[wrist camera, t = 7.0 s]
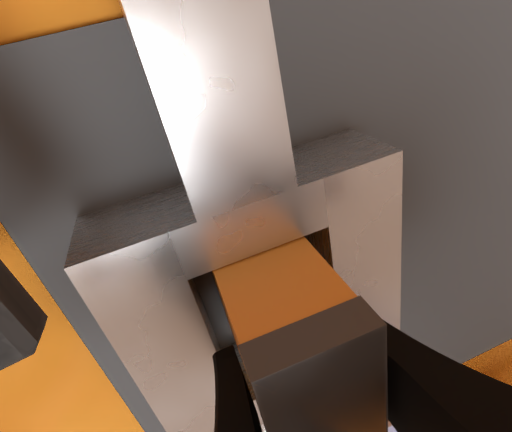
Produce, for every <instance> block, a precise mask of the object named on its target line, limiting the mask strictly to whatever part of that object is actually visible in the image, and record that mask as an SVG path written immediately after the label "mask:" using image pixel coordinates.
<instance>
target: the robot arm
mask: <svg viewBox="0 0 512 432" xmlns="http://www.w3.org/2000/svg"><path fill="white" fill-rule="evenodd" d="M382 320H383V319H382ZM383 321H384V320H383ZM384 322H385V323H386V324H387V390H388V420H389V421H388V432H512V386H511V385H508V384H506V383H503V382H501V381H498V380H496V379H494V378H491V377H489V376H487V375H485V374H482V373H480V372H478V371H476V370H473V369H471V368H469V367H467V366H465V365H463V364H461V363H459V362H457V361H455V360H453V359H451V358H449V357H447V356H445V355H443V354H441V353H439V352H437V351H435V350H433V349H432V348H430V347H428V346H426V345H424V344H422V343H421V342H419V341H417V340H415V339H414V338H412V337H410V336H409V335H407V334H405V333H404V332H402V331H400V330H399V329H397V328H395V327H394V326H392V325H391V324H389V323H387V322H386V321H384ZM212 358H213V364H214V373H215V424H214V432H262V428H261V424H260V420H259V417H258V413H257V411H256V408H255V405H254V402H253V399H252V397H251V394H250V391H249V388H248V385H247V383H246V380H245V377H244V374H243V371H242V369H241V366H240V363H239V360H238V357H237V355H236V352H235V349H234V346H233V345H231V346H229V347H227V348H224V349H222V350H220V351H217V352H215V353H214V354H213V356H212Z"/></svg>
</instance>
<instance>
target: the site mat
mask: <svg viewBox="0 0 512 432" xmlns="http://www.w3.org/2000/svg"><path fill="white" fill-rule="evenodd" d="M269 5H270V12H271V18H272V24H273V31H274V37H275V43H276V50H277V56H278V63H279V69H280V75H281V82H282V88H283V94H284V101H285V107H286V113H287V120H288V126H289V133H290V139H291V145H292V146H295V145H299V144H302V143H305V142H308V141H311V140H314V139H317V138H320V137H323V136H326V135H329V134H332V133H336V132H339V131H342V130H345V129H348V128H350V129H352V130H355V131H357V132H360V133H362V134H364V135H367V136H369V137H372V138H374V139H376V140H379V141H381V142H384V143H386V144H388V145H391V146H393V147H395V148H398V149H400V150H403V177H402V242H401V308H400V331H402V332H404V333H405V334H407V335H409V336H410V337H412V338H414V339H415V340H417V341H419V342H421V343H422V344H424V345H426V346H428V347H430V348H432V349H433V350H435V351H437V352H439V353H441V354H443V355H445V356H447V357H449V358H451V359H453V360H455V361H457V362H459V363H461V364H462V363H464V362H466V361H468V360H470V359H472V358H474V357H476V356H478V355H480V354H482V353H484V352H486V351H488V350H490V349H492V348H494V347H496V346H498V345H500V344H502V343H504V342H506V341H508V340H510V339H512V0H269ZM179 183H181V180H180V177H179V174H178V171H177V169H176V166H175V163H174V160H173V157H172V154H171V151H170V148H169V146H168V143H167V140H166V137H165V134H164V131H163V128H162V125H161V123H160V120H159V117H158V114H157V111H156V108H155V105H154V102H153V100H152V97H151V94H150V91H149V88H148V85H147V82H146V79H145V76H144V74H143V71H142V68H141V65H140V62H139V59H138V56H137V53H136V51H135V48H134V45H133V42H132V39H131V36H130V33H129V30H128V28H127V25H126V22H125V19H124V18H119V19H115V20H111V21H106V22H102V23H97V24H93V25H89V26H84V27H80V28H76V29H71V30H67V31H63V32H58V33H54V34H50V35H45V36H41V37H37V38H32V39H28V40H24V41H19V42H15V43H11V44H6V45H2V46H0V222H1V223H2V225H3V226H4V228H5V229H6V231H7V232H8V233H9V235H10V236H11V238H12V239H13V241H14V242H15V244H16V245H17V247H18V248H19V249H20V251H21V252H22V254H23V255H24V257H25V258H26V260H27V261H28V262H29V264H30V265H31V267H32V268H33V270H34V271H35V273H36V274H37V276H38V277H39V278H40V280H41V281H42V283H43V284H44V286H45V287H46V289H47V290H48V292H49V293H50V294H51V296H52V297H53V299H54V300H55V302H56V303H57V305H58V306H59V308H60V309H61V310H62V312H63V313H64V315H65V316H66V318H67V319H68V321H69V322H70V323H71V325H72V326H73V328H74V329H75V331H76V332H77V334H78V335H79V337H80V338H81V339H82V341H83V342H84V344H85V345H86V347H87V348H88V350H89V351H90V353H91V354H92V355H93V357H94V358H95V360H96V361H97V363H98V364H99V366H100V367H101V369H102V370H103V371H104V373H105V374H106V376H107V377H108V379H109V380H110V382H111V383H112V384H113V386H114V387H115V389H116V390H117V392H118V393H119V395H120V396H121V398H122V399H123V400H124V402H125V403H126V405H127V406H128V408H129V409H130V411H131V412H132V414H133V415H134V416H135V418H136V419H137V421H138V422H139V424H140V425H141V427H142V428H143V430H144V431H145V432H166V431H165V429H164V428H163V426H162V424H161V423H160V421H159V420H158V418H157V416H156V415H155V413H154V412H153V410H152V409H151V407H150V405H149V404H148V402H147V401H146V399H145V397H144V396H143V394H142V393H141V391H140V389H139V388H138V386H137V385H136V383H135V382H134V380H133V378H132V377H131V375H130V374H129V372H128V370H127V369H126V367H125V366H124V364H123V362H122V361H121V359H120V358H119V356H118V355H117V353H116V351H115V350H114V348H113V347H112V345H111V343H110V342H109V340H108V339H107V337H106V336H105V334H104V332H103V331H102V329H101V328H100V326H99V324H98V323H97V321H96V320H95V318H94V316H93V315H92V313H91V312H90V310H89V309H88V307H87V305H86V304H85V302H84V301H83V299H82V297H81V296H80V294H79V293H78V291H77V289H76V288H75V286H74V285H73V283H72V282H71V280H70V278H69V277H68V275H67V274H66V272H65V270H64V265H65V261H66V257H67V253H68V249H69V245H70V241H71V237H72V233H73V229H74V225H75V221H76V217H77V216H80V215H83V214H86V213H89V212H92V211H95V210H98V209H102V208H105V207H108V206H111V205H114V204H117V203H120V202H123V201H126V200H129V199H132V198H135V197H138V196H142V195H145V194H148V193H151V192H154V191H157V190H160V189H163V188H166V187H169V186H172V185H175V184H179ZM193 280H194V283H195V285H196V288H197V290H198V293H199V295H200V298H201V301H202V303H203V306H204V308H205V311H206V313H207V316H208V318H209V321H210V324H211V326H212V329H213V331H214V334H215V336H216V339H217V342H218V344H219V347H220V349H221V348H223V347H226V346H228V345H231V344H233V343H235V339H234V336H233V333H232V330H231V328H230V325H229V322H228V319H227V316H226V313H225V310H224V307H223V304H222V301H221V298H220V295H219V292H218V289H217V286H216V283H215V280H214V277H213V274H212V271H210V272H208V273H205V274H203V275H200V276H197V277H195V278H193Z"/></svg>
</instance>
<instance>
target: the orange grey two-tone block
mask: <svg viewBox="0 0 512 432" xmlns="http://www.w3.org/2000/svg"><path fill="white" fill-rule="evenodd" d="M212 274H213V277H214V280H215V283H216V286H217V289H218V292H219V295H220V298H221V301H222V304H223V307H224V310H225V313H226V316H227V319H228V322H229V325H230V328H231V330H232V333H233V336H234V339H235V342H236V345H237V347H238V350H239V353H240V356H241V359H242V361H243V364H244V367H245V370H246V373H247V376H248V378H249V381H250V384H251V387H252V390H253V393H254V396H255V399H256V402H257V405H258V408H259V411H260V414H261V417H262V420H263V423H264V426H265V430H266V432H388V390H387V324H386V323H385V322H384V321H383V320H382V319H381V317H380V316H379V315H378V314H377V313H376V312H375V311H374V310H373V309H372V308H371V306H370V305H369V304H368V303H367V302H366V301H365V300H364V299H363V298H362V296H361V295H360V296H357V295H356V294H355V293H354V292H353V291H352V290H351V288H350V287H349V286H348V285H347V284H346V283H345V282H344V281H343V279H342V278H341V277H340V276H339V275H338V274H337V273H336V272H335V270H334V269H333V268H332V267H331V266H330V265H329V264H328V263H327V261H326V260H325V259H324V258H323V257H322V256H321V255H320V254H319V252H318V251H317V250H316V249H315V248H314V247H313V246H312V245H311V243H310V242H309V241H308V240H307V239H306V238H305V237H304V236H303V237H300V238H298V239H295V240H293V241H290V242H287V243H285V244H282V245H279V246H277V247H274V248H271V249H269V250H266V251H263V252H261V253H258V254H255V255H253V256H250V257H248V258H245V259H242V260H240V261H237V262H234V263H232V264H229V265H226V266H224V267H221V268H218V269H216V270H213V271H212Z"/></svg>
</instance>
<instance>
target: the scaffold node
mask: <svg viewBox="0 0 512 432" xmlns="http://www.w3.org/2000/svg"><path fill="white" fill-rule="evenodd" d="M118 2H119V5H120V7H121V10H122V13H123V16H124V19H125V22H126V25H127V28H128V30H129V33H130V36H131V39H132V42H133V45H134V48H135V51H136V53H137V56H138V59H139V62H140V65H141V68H142V71H143V74H144V76H145V79H146V82H147V85H148V88H149V91H150V94H151V97H152V100H153V102H154V105H155V108H156V111H157V114H158V117H159V120H160V123H161V125H162V128H163V131H164V134H165V137H166V140H167V143H168V146H169V148H170V151H171V154H172V157H173V160H174V163H175V166H176V169H177V171H178V174H179V177H180V180H181V183H179V184H175V185H172V186H169V187H166V188H163V189H160V190H157V191H154V192H151V193H148V194H145V195H142V196H138V197H135V198H132V199H129V200H126V201H123V202H120V203H117V204H114V205H111V206H108V207H105V208H102V209H98V210H95V211H92V212H89V213H86V214H83V215H80V216H77V217H76V221H75V225H74V229H73V233H72V237H71V241H70V245H69V249H68V253H67V257H66V261H65V265H64V270H65V272H66V274H67V275H68V277H69V278H70V280H71V282H72V283H73V285H74V286H75V288H76V289H77V291H78V293H79V294H80V296H81V297H82V299H83V301H84V302H85V304H86V305H87V307H88V309H89V310H90V312H91V313H92V315H93V316H94V318H95V320H96V321H97V323H98V324H99V326H100V328H101V329H102V331H103V332H104V334H105V336H106V337H107V339H108V340H109V342H110V343H111V345H112V347H113V348H114V350H115V351H116V353H117V355H118V356H119V358H120V359H121V361H122V362H123V364H124V366H125V367H126V369H127V370H128V372H129V374H130V375H131V377H132V378H133V380H134V382H135V383H136V385H137V386H138V388H139V389H140V391H141V393H142V394H143V396H144V397H145V399H146V401H147V402H148V404H149V405H150V407H151V409H152V410H153V412H154V413H155V415H156V416H157V418H158V420H159V421H160V423H161V424H162V426H163V428H164V429H165V431H166V432H214V424H215V373H214V364H213V358H212V356H213V354H214V353H215V352H217V351H220V350H222V349H224V348H227V347H229V346H231V345H233V346H234V349H235V352H236V355H237V357H238V360H239V363H240V366H241V369H242V371H243V374H244V377H245V380H246V383H247V385H248V388H249V391H250V394H251V397H252V399H253V402H254V405H255V408H256V411H257V413H258V417H259V420H260V424H261V428H262V432H266V430H265V426H264V423H263V420H262V417H261V414H260V411H259V408H258V405H257V402H256V399H255V396H254V393H253V390H252V387H251V384H250V381H249V378H248V376H247V373H246V370H245V367H244V364H243V361H242V359H241V356H240V353H239V350H238V347H237V345H236V342H235V343H233V344H231V345H228V346H226V347H223V348H221V349H220V347H219V344H218V342H217V339H216V336H215V334H214V331H213V329H212V326H211V324H210V321H209V318H208V316H207V313H206V311H205V308H204V306H203V303H202V301H201V298H200V295H199V293H198V290H197V288H196V285H195V283H194V280H193V278H195V277H197V276H200V275H203V274H205V273H208V272H210V271H213V270H216V269H218V268H221V267H224V266H226V265H229V264H232V263H234V262H237V261H240V260H242V259H245V258H248V257H250V256H253V255H255V254H258V253H261V252H263V251H266V250H269V249H271V248H274V247H277V246H279V245H282V244H285V243H287V242H290V241H293V240H295V239H298V238H300V237H303V236H304V237H305V238H306V239H307V240H308V241H309V242H310V243H311V245H312V246H313V247H314V248H315V249H316V250H317V251H318V252H319V254H320V255H321V256H322V257H323V258H324V259H325V260H326V261H327V263H328V264H329V265H330V266H331V267H332V268H333V269H334V270H335V272H336V273H337V274H338V275H339V276H340V277H341V278H342V279H343V281H344V282H345V283H346V284H347V285H348V286H349V287H350V288H351V290H352V291H353V292H354V293H355V294H356V295H357V296H360V295H361V296H362V298H363V299H364V300H365V301H366V302H367V303H368V304H369V305H370V306H371V308H372V309H373V310H374V311H375V312H376V313H377V314H378V315H379V316H380V317H381V319H383V320H384V321H386V322H387V323H389V324H391V325H392V326H394V327H395V328H397V329H399V330H400V308H401V242H402V177H403V150H400V149H398V148H395V147H393V146H391V145H388V144H386V143H384V142H381V141H379V140H376V139H374V138H372V137H369V136H367V135H364V134H362V133H360V132H357V131H355V130H352V129H350V128H348V129H345V130H342V131H339V132H336V133H332V134H329V135H326V136H323V137H320V138H317V139H314V140H311V141H308V142H305V143H302V144H299V145H295V146H292V145H291V139H290V133H289V126H288V120H287V113H286V107H285V101H284V94H283V88H282V82H281V75H280V69H279V63H278V56H277V50H276V43H275V37H274V31H273V24H272V18H271V12H270V5H269V0H118Z"/></svg>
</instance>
